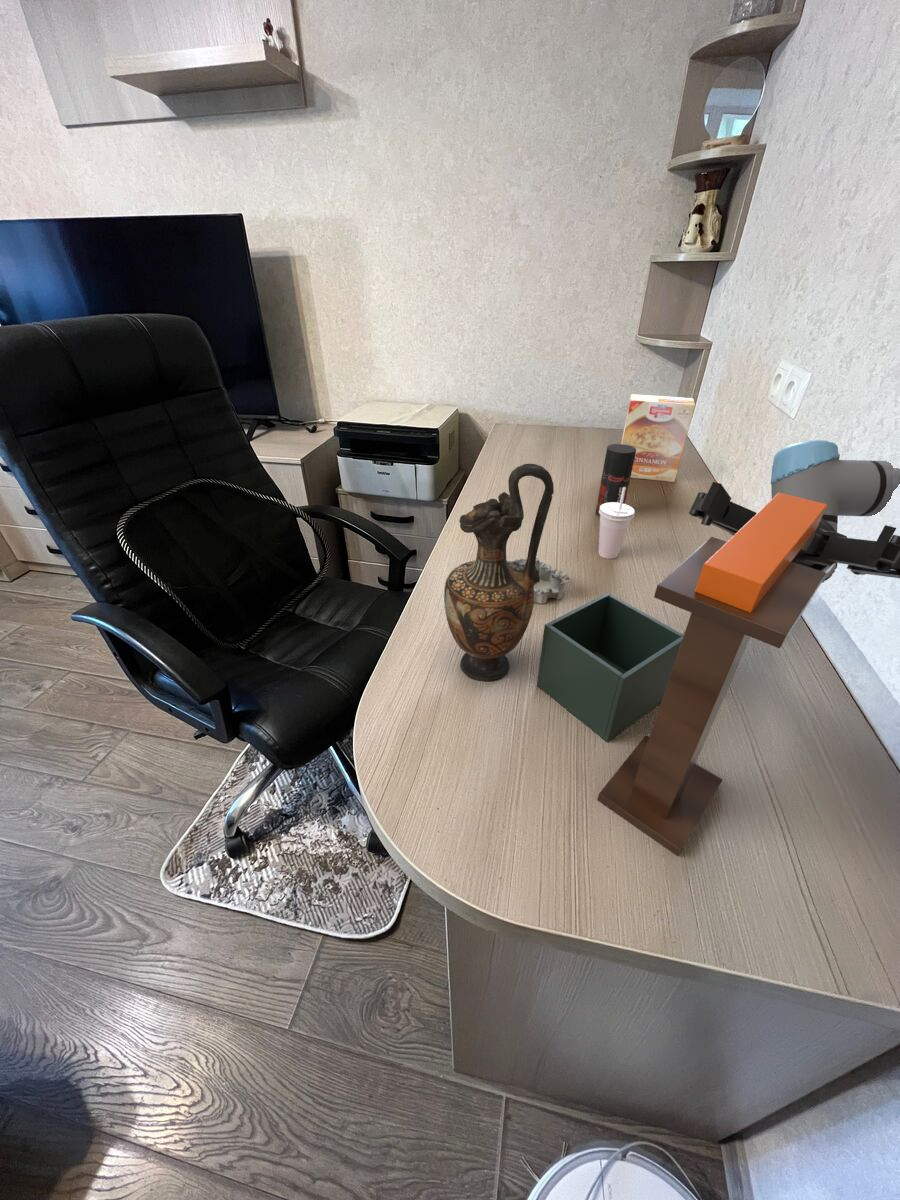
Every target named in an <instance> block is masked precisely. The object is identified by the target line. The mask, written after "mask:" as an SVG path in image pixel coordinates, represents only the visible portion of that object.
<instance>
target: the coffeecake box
mask: <svg viewBox="0 0 900 1200" xmlns="http://www.w3.org/2000/svg"><path fill="white" fill-rule="evenodd" d="M695 408H696V403H695V399H694V398H693V397H681V396H666V395H649V394H637V393H635V394H634V393H630V397H629V402H628V407H627V412H626V417H625V422H624V427H623V433H622V437H621V443H620V444H625V445H630V446H633V447H635V448H636V454H635V459H634V463H633V468H632V473H631V477H630V479H639V480H651V481H657V482H659V481H660V482H667V483H668V482H669V483H675V482H676V477H677V475H678V471H679V467H680V464H681V460H682V456H683V452H684V449H685V445H686V441H687V437H688V434H689V430H690V426H691V423H692V419H693V415H694V412H695Z"/></svg>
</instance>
